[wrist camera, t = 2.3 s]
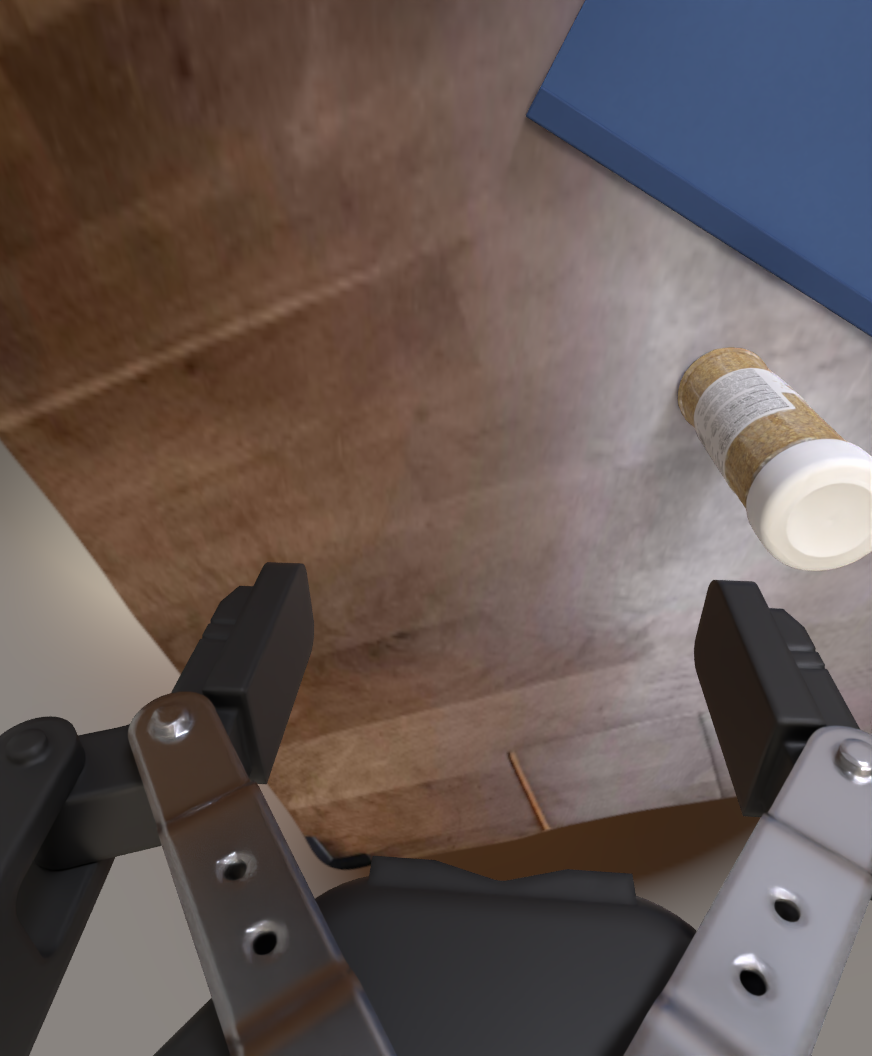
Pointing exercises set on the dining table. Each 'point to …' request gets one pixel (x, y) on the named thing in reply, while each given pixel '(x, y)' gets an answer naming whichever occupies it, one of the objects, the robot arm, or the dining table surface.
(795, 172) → the blue flat rectangular slab
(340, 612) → the dining table surface
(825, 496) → the spice jar
